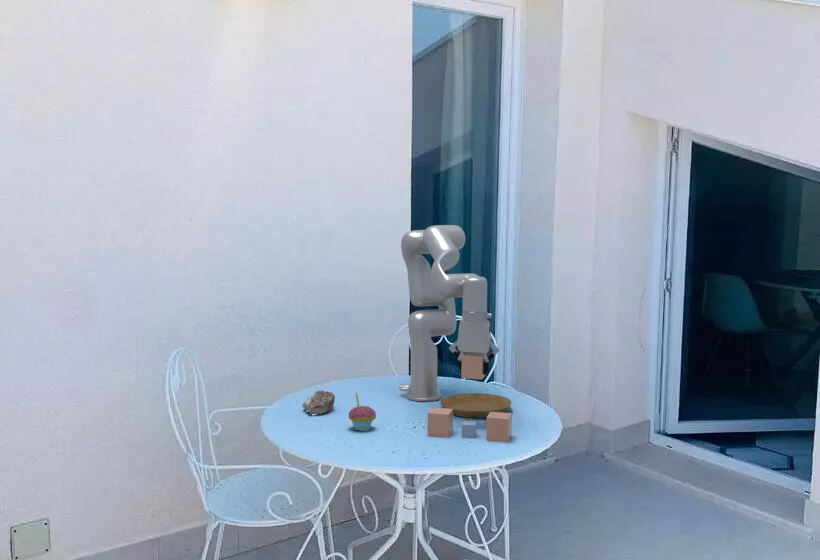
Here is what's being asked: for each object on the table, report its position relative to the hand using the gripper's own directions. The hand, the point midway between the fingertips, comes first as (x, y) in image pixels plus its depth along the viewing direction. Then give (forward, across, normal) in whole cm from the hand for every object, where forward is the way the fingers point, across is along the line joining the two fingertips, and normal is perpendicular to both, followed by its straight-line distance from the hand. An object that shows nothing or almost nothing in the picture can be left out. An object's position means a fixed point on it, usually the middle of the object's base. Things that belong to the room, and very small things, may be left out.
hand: (473, 372), depth 246 cm
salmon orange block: (+17, -10, +10) cm, 22 cm away
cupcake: (+18, +33, +12) cm, 39 cm away
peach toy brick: (+17, +8, +10) cm, 21 cm away
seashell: (+18, +54, -4) cm, 57 cm away
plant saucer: (+18, +3, -19) cm, 27 cm away
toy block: (+1, 0, 0) cm, 1 cm away
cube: (+17, -1, +10) cm, 20 cm away
